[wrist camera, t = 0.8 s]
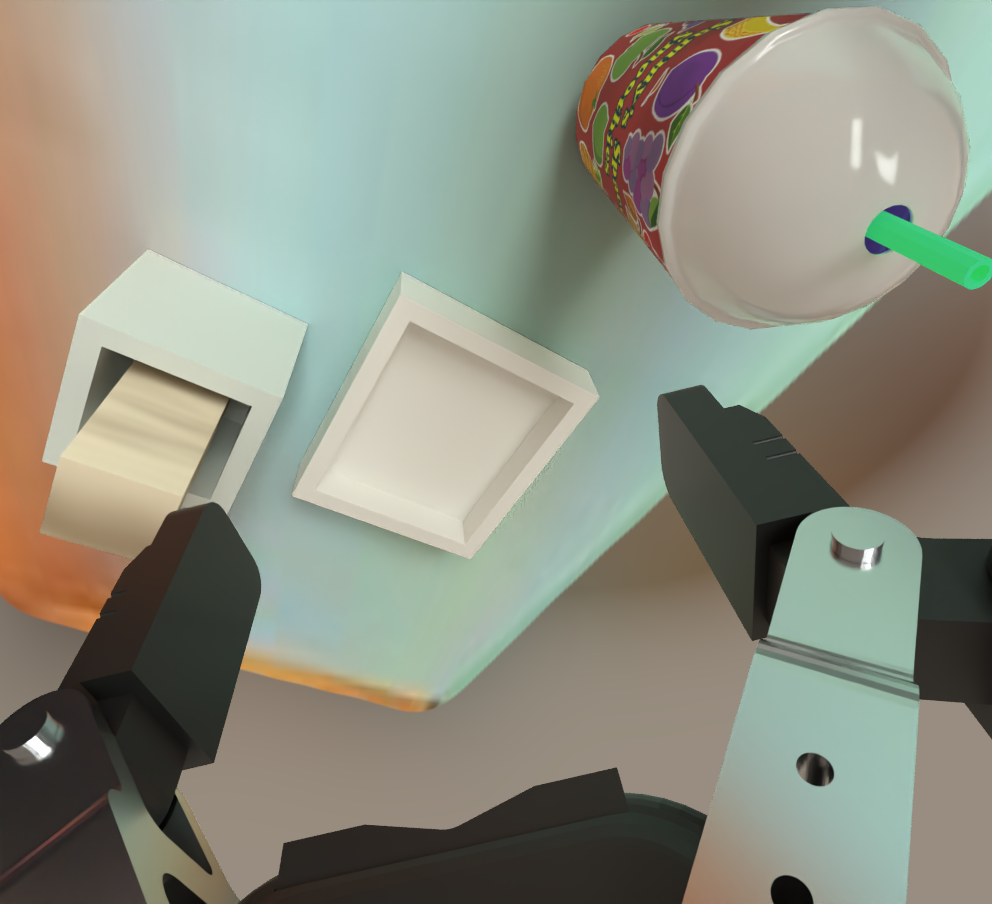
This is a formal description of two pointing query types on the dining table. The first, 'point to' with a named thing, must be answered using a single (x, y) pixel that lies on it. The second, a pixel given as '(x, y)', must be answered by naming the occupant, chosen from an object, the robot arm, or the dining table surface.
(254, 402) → the white open box
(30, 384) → the dining table surface
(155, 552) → the robot arm
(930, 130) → the smoothie
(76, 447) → the birch peg
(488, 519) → the plastic tray
